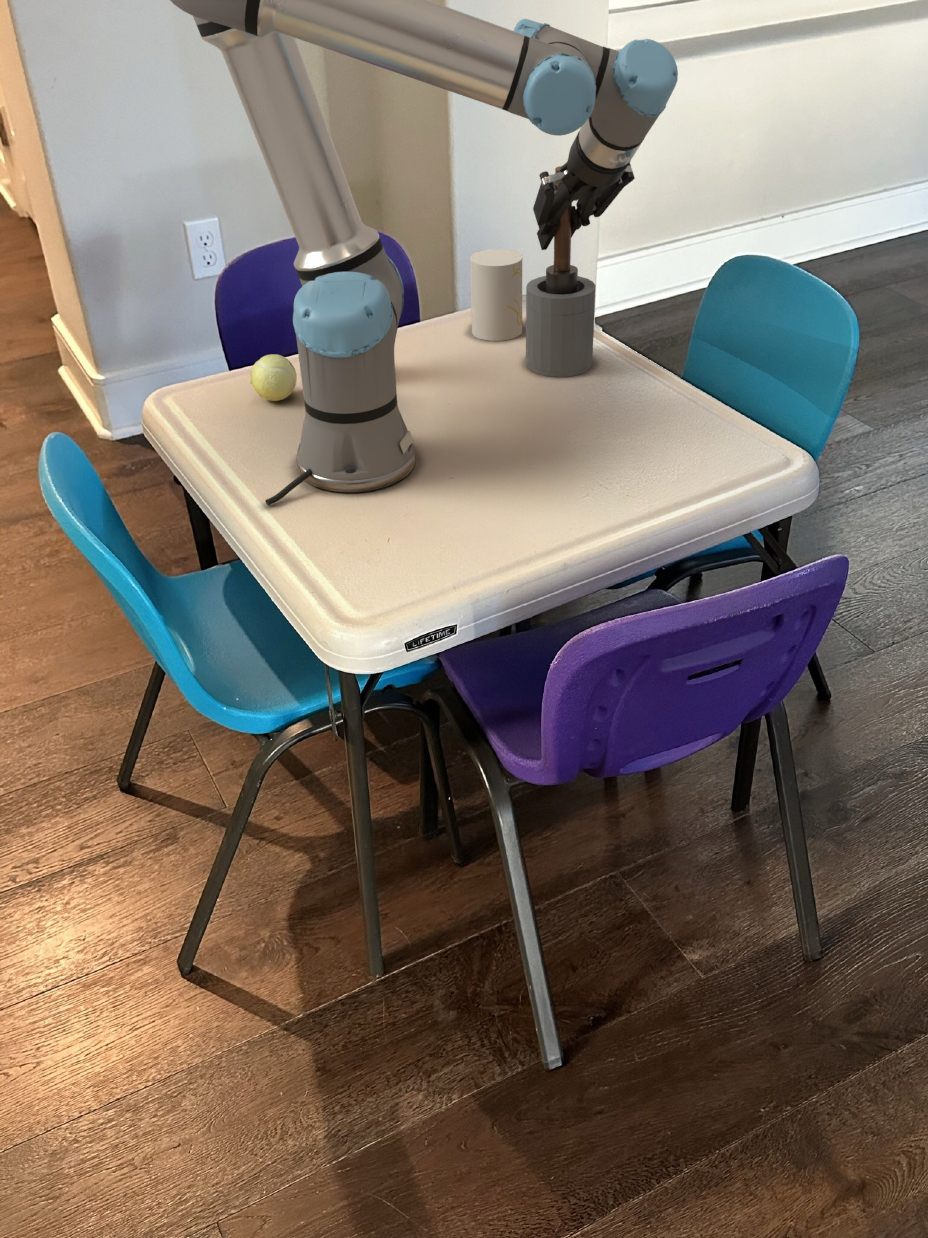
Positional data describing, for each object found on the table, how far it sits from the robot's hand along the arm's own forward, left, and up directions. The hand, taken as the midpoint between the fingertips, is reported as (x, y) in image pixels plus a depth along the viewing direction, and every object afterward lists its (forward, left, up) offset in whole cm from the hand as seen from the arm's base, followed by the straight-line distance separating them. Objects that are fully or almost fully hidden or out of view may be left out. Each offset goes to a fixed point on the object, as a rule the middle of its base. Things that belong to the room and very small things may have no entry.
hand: (551, 239), depth 164 cm
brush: (-2, -4, -9) cm, 10 cm away
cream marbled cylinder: (+1, +13, -18) cm, 22 cm away
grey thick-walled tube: (-2, -4, -18) cm, 18 cm away
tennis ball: (-39, +18, -18) cm, 46 cm away
